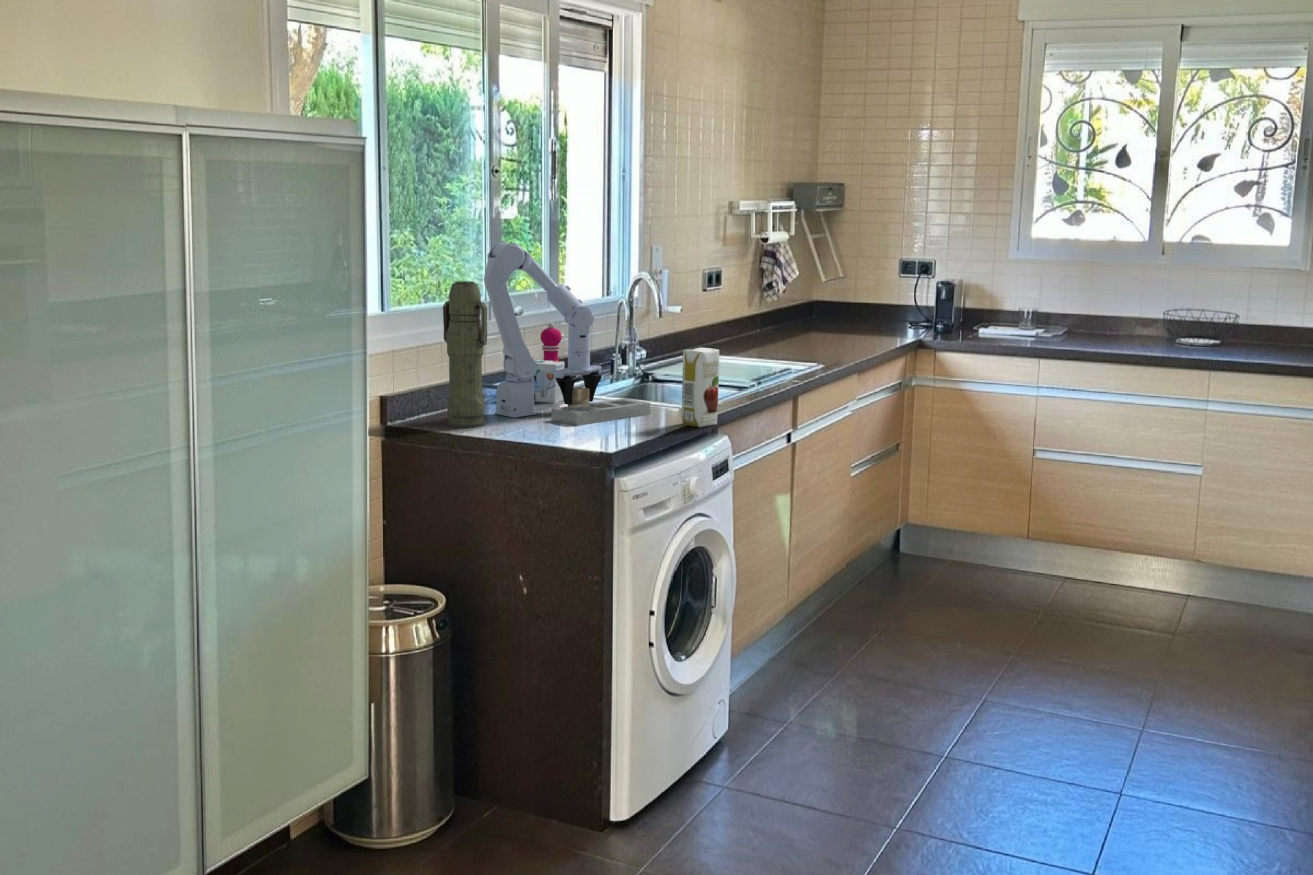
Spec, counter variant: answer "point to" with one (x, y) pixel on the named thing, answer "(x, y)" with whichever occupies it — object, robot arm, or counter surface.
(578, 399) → the peg
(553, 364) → the light bulb box
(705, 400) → the juice carton
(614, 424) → the counter surface
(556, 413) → the rail
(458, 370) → the thermos
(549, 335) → the pepper mill
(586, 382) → the robot arm
